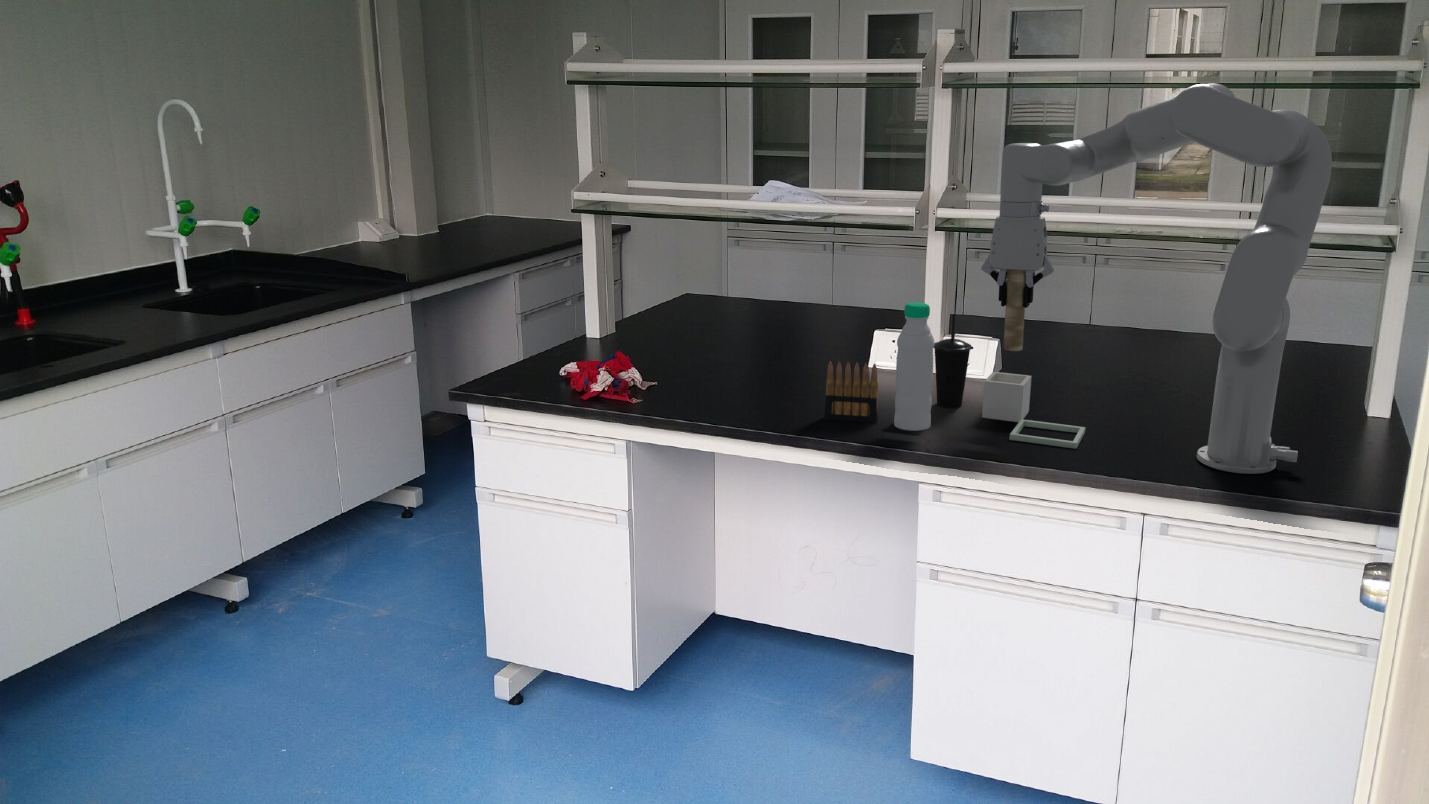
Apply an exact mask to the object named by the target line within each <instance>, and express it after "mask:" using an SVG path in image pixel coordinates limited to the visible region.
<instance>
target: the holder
mask: <svg viewBox="0 0 1429 804" xmlns="http://www.w3.org/2000/svg"><path fill="white" fill-rule="evenodd" d="M1031 387H1032V375H1027V374H1018V373H1009V372H999V371H992V373H991V374H989V376H988V377H986V378H985V380H984V381H983V397H982V398H983V399H982V413H981V414H982V415H981V418H984V419H991V420H1000V421H1006V422H1014V423H1019V421H1020V420H1021V419H1023V420H1025V418H1026V416H1027V415H1028V413H1029V411H1030V400H1031V390H1032V389H1031Z"/></svg>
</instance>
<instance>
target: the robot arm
mask: <svg viewBox="0 0 1429 804" xmlns="http://www.w3.org/2000/svg"><path fill="white" fill-rule="evenodd" d="M1193 143H1196V144H1198V145H1201V146H1202V147H1205V148H1208V149H1209V150H1213V151H1215V152H1218V153H1220V154H1222V155H1225V156H1226V157H1229V158H1231V159H1234V160H1236V161H1239V162H1241V163H1244V164H1246V165H1249V166H1253V167H1257V168H1270V167H1272V174H1271V175H1272V176H1271V178H1270V182H1269V184H1268V187H1267V190H1266V192H1265V194H1264V198H1263V200H1262V201H1263V202H1262V205H1261V209H1260V212H1259V215H1258V216H1257V219H1256V223H1255V225H1254V228H1253V229H1252V231H1250V232H1249V233H1248V234H1246V235H1245V236H1244V237H1242V239H1240V240H1239V242H1238V243H1237V244H1236V247H1235V248H1234V251H1233V253H1232V255H1231V257H1230V260H1229V263H1228V266H1227V269H1226V272H1225V275H1224V279H1223V282H1222V285H1221V289H1220V291H1219V295H1218V298H1217V301H1216V303H1215V307H1214V311H1213V314H1212V319H1211V320H1212V322H1211V323H1212V330H1213V332H1214V335H1215V337H1216V339H1217V340H1218V341H1219V343H1220V344H1221V347H1220V351H1219V357H1218V365H1217V371H1216V372H1217V373H1216V379H1215V384H1214V385H1215V386H1214V393H1213V404H1212V408H1211V409H1212V410H1211V416H1210V425H1209V433H1208V440H1207V445H1204V446H1202V447H1200V448H1198V450H1197V451H1196V459H1197V460H1198V461H1199V462H1200V463H1202V464H1203V465H1204V466H1207V467H1210V468H1212V469H1215V470H1219V471H1223V472H1229V473H1232V474H1233V473H1235V474H1245V475H1247V474H1248V475H1257V474H1258V475H1259V474H1265V473H1269V472H1271V471H1273V470H1274V469H1276V466H1277V460H1282V461H1285V462H1292V463H1297V460H1298V455H1299V452H1298V450H1291V448H1290V447H1289V446H1279V445H1275V444H1274V443H1272V437H1271V433H1272V427H1273V425H1272V424H1273V417H1274V411H1275V404H1276V398H1277V397H1276V396H1277V391H1278V385H1279V381H1280V380H1279V379H1280V371H1281V365H1282V360H1283V355H1284V349H1285V345H1286V340H1287V337H1288V331H1289V327H1290V321H1291V307H1290V304H1289V301H1288V299H1287V298H1286V297H1287V295H1288V292H1289V290H1290V286H1291V283H1292V281H1293V278H1294V276H1295V275H1296V274H1297V273H1298V272H1299V271H1300V270H1301V269H1302V268H1303V266H1304V265H1305V263H1306V260H1307V256H1308V252H1309V249H1310V247H1311V246H1310V245H1311V241H1312V239H1313V236H1314V233H1315V230H1316V227H1317V223H1318V220H1319V217H1320V214H1321V210H1322V207H1323V204H1324V201H1325V197H1326V194H1327V192H1328V191H1327V190H1328V188H1329V183H1330V180H1331V176H1332V169H1333V168H1332V167H1333V158H1332V151H1331V147H1330V143H1329V141H1328V139H1327V136H1326V135H1325V134H1324V132H1323V131H1322V130H1321V128H1320V127H1319V126H1318V125H1317V124H1316V123H1315V122H1313V121H1312V120H1311V119H1310V118H1309V117H1307V116H1305V115H1304V114H1302V113H1300V112H1298V111H1295V110H1290V109H1276V110H1275V109H1274V110H1270V109H1266V108H1264V107H1262V106H1259V105H1256V104H1253V103H1251V102H1248V101H1245V100H1243V99H1240V98H1238V97H1236V95H1235V93H1234V92H1233V91H1232V90H1231V89H1230V88H1229V87H1227V86H1226V85H1223V84H1220V83H1213V82H1212V83H1200V84H1194V85H1192V86H1188V87H1187V88H1185V89H1184V90H1182V91H1180V93H1179V94H1177V95H1175V96H1174V95H1173V97H1170V98H1167V99H1164V100H1162V101H1159V102H1155V103H1154V104H1151V105H1148V106H1146V107H1145V106H1144V107H1143V108H1139V109H1136V110H1134V111H1132V112H1130V113H1128V114H1127V115H1125V116H1124V118H1123V119H1122V120H1121V121H1119V122H1118V123H1116V124H1114V125H1111V126H1109V127H1107V128H1104V129H1102V130H1099V131H1096V132H1094V133H1091V134H1088V135H1086V136H1082V137H1081V138H1077V139H1074V140H1068V141H1067V140H1066V141H1062V142H1057V143H1056V142H1055V143H1050V144H1043V145H1042V144H1039V143H1036V142H1035V143H1034V142H1017V143H1010V144H1007V145H1005V147H1004V148H1003V149H1002V156H1001V174H1000V175H1001V180H1000V195H999V196H1000V197H999V216H996V218H995V220H994V225H993V229H992V230H993V231H992V236H991V244H990V250H989V255H988V257H987V258H986V260H985V261H984V263H983V264H982V265H981V268H980V269H981V271H983V272H984V273H986V275H987V274H988V275H989V276H990V277H991V278H992V279H993V280H994V281H995V282H996V284H997V286H998V302H1000V306H1001V307H1006V291H1007V270H1020V271H1026V287H1024V294H1023V307H1024V308H1025V309H1027V308H1029V306H1030V304H1031V303H1032V304H1033V301H1034V287H1035V285H1037V283H1038V282H1040V281H1041V280H1042V279H1044V278H1046V277H1047V276H1049V275H1051V274H1053V273H1054V272H1055V269H1054V267H1053V265H1052V263H1051V261H1050V260H1049V257H1048V237H1047V236H1048V235H1047V233H1048V231H1047V222H1046V217H1044V216H1042V214H1043V213H1049V212H1050V204H1046V203H1044V202H1043V200H1042V199H1043V185H1049V186H1063V185H1066V184H1067V185H1068V184H1070V183H1077V182H1081V181H1083V180H1085V179H1089V178H1092V177H1094V176H1097V175H1101V174H1104V173H1106V172H1109V171H1112V170H1115V169H1118V168H1121V167H1122V166H1123V167H1124V166H1126V165H1128V164H1132V163H1138V162H1143V161H1145V160H1148V159H1151V158H1154V157H1156V156H1159V155H1162V154H1165V153H1168V152H1170V151H1173V150H1176V149H1179V148H1182V147H1185V146H1188V145H1192V144H1193ZM1042 268H1043V270H1041V269H1042ZM1037 271H1039V272H1037ZM1036 272H1037V274H1036Z"/></svg>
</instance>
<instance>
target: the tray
mask: <svg viewBox="0 0 1429 804" xmlns="http://www.w3.org/2000/svg"><path fill="white" fill-rule="evenodd" d="M1024 427H1029V428H1037V429H1044V430H1052V431H1057V432H1058V431H1059V432H1065V433H1066V432H1068V433H1076V435H1075V437H1074V439H1073V440H1065V439H1060V438H1059V439H1058V438H1053V437H1052V438H1051V437H1044V436H1043V437H1042V436H1035V435H1028V434H1021V433H1020V432H1021V431H1022V429H1023V428H1024ZM1085 433H1086V427H1085V426H1077V425H1069V424H1062V423H1054V422H1048V421H1047V422H1046V421H1040V420H1039V421H1038V420H1032V419H1021V420H1020V421H1019V422H1017V423H1016V425H1015V427H1014V428H1013V430H1011V432H1010V433H1009V441H1015V442H1016V441H1018V442H1024V443H1025V442H1026V443H1032V444H1040V445H1046V446H1055V447H1061V448H1068V449H1077V448H1078V446H1079V445H1080V443H1081V441H1082V440H1083V437H1084V435H1085Z"/></svg>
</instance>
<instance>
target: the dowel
mask: <svg viewBox="0 0 1429 804" xmlns="http://www.w3.org/2000/svg"><path fill="white" fill-rule="evenodd" d="M1026 283H1027V281H1026V271H1020V270H1007V291H1006V305H1005V311H1004V312H1005V313H1004V315H1005V317H1004V318H1005V319H1004V332H1003V333H1004V334H1003V335H1004V336H1003V339H1004V340H1003V350H1005V351H1010V352H1020V351H1022V350H1023V346H1024V333H1025V332H1024V330H1025V313H1026V312H1025V311H1026V308H1024V307H1023V294H1024V287H1026Z"/></svg>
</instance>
